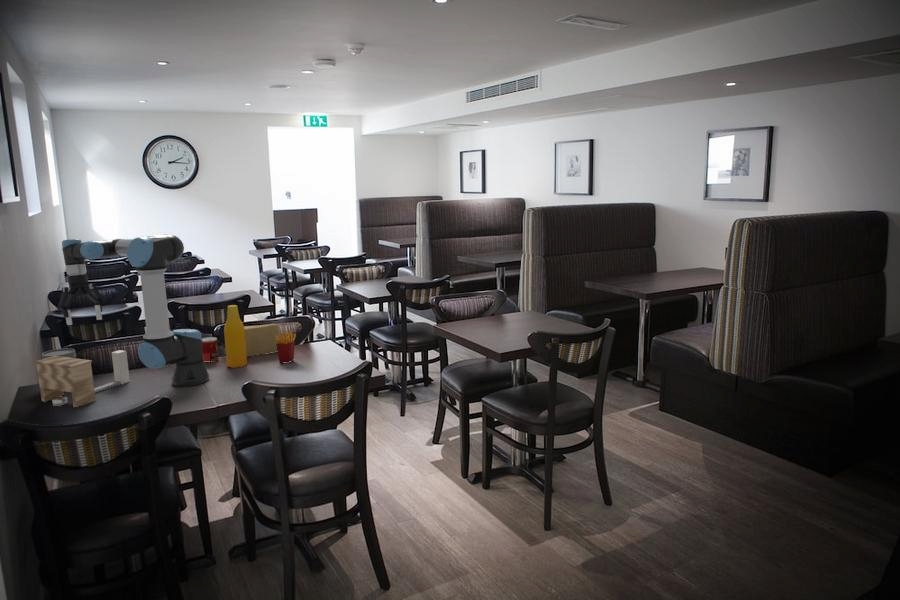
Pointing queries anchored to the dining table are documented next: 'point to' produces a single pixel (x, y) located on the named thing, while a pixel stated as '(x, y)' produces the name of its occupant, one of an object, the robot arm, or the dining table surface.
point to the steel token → (59, 401)
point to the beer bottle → (234, 339)
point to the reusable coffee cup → (60, 353)
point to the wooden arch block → (117, 370)
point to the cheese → (261, 339)
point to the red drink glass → (210, 349)
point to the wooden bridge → (66, 379)
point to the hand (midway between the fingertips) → (85, 322)
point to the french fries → (285, 347)
